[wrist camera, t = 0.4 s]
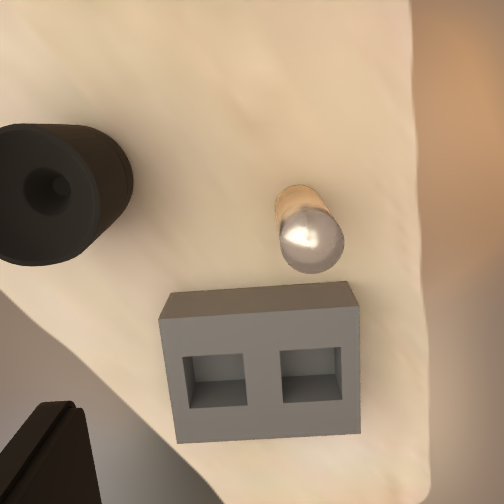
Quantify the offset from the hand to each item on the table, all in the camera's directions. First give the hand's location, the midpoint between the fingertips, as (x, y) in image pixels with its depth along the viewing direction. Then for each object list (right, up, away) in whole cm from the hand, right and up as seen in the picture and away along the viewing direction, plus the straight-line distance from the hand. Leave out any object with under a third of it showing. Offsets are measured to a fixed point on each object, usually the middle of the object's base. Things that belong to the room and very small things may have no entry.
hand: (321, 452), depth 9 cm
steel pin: (+3, +8, +31) cm, 32 cm away
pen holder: (-16, +10, +30) cm, 36 cm away
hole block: (0, -5, +35) cm, 35 cm away
